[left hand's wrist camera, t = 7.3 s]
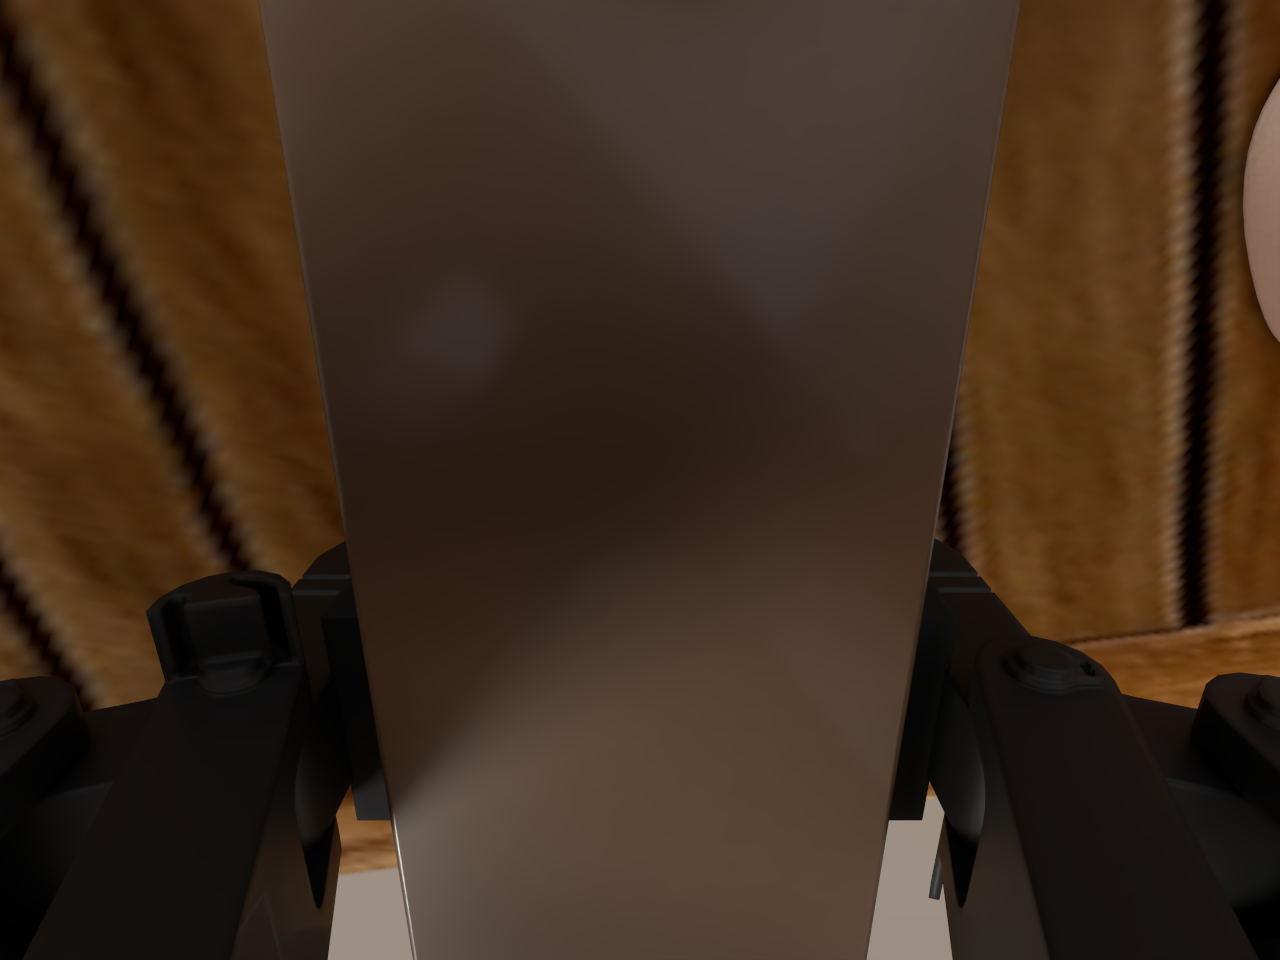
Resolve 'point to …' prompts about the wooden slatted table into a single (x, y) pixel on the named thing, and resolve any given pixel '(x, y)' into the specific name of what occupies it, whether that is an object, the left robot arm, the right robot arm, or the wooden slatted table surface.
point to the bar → (639, 439)
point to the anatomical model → (1265, 209)
